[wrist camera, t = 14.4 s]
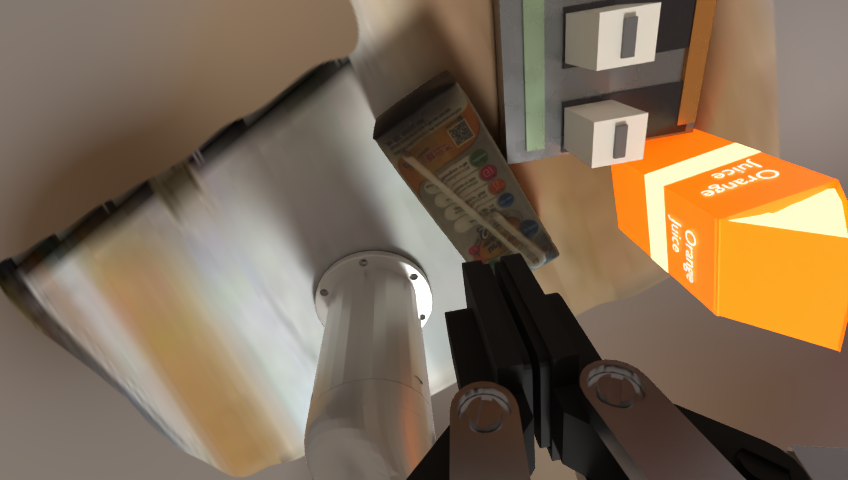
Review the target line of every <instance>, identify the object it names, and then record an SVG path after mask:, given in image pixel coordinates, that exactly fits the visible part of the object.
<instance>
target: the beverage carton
mask: <svg viewBox="0 0 848 480" xmlns="http://www.w3.org/2000/svg"><path fill="white" fill-rule="evenodd" d="M373 139H374V140H376V142H377V143H378V145H379V146H380V148H381V149H382V151H383V152H384V154H385V155H386V157H387V158H388V159H389V161H390V162H391V164H392V165H393V166H394V168H395V169H396V170H397V172H398V173H399V175H400V176H401V177H402V179H403V180H404V181H405V182H406V184H407V185H408V186H409V188H410V189H411V190H412V192H413V193H414V194H415V196H416V197H417V198H418V200H419V201H420V203H421V204H422V205H423V206H424V208H425V209H426V210H427V212H428V213H429V214H430V215H431V217H432V218H433V219H434V221H435V222H436V223H437V225H438V226H439V227H440V228H441V230H442V231H443V232H444V234H445V235H446V236H447V237H448V239H449V240H450V241H451V242H452V244H453V245H454V246H455V248H456V249H457V250H458V252H459V253H460V254H461V255H462V257H463V258H464V259H465V260H466V262H471V261H477V260H481V261H482V263H483V264H488V263H489V264H490V266H491V268H492V271H493V273H494V275H495V271H494V263H495V262H500V257H501V256H505V255H511V254H516V253H521V255H522V256H523V258H524V260H525V261H526V263H527V265H528V267H529V268H530V270H531V272H532V271H534V270H535V269H537V268H539V267H541V266H543V265H545V264H547V263H549V262H550V261H552V260H554V259H555V258H557V257H558V256H559V252H558V250H557V248H556V246H555V245H554V243H553V242H552V240H551V237H550V236H549V234H548V233H547V231H546V229H545V228H544V226H543V224H542V222H541V221H540V219H539V218H538V216H537V214H536V213H535V211H534V209H533V207H532V206H531V204H530V202H529V200H528V198H527V197H526V195H525V193H524V191H523V190H522V188H521V186H520V184H519V182H518V181H517V179H516V177H515V176H514V174H513V172H512V170H511V169H510V167H509V165H508V164H507V162H506V160H505V159H504V157H503V155H502V153H501V152H500V150H499V148H498V147H497V145H496V143H495V142H494V140H493V138H492V136H491V135H490V133H489V131H488V130H487V128H486V126H485V124H484V123H483V121H482V119H481V118H480V116H479V114H478V112H477V111H476V109H475V108H474V106H473V104H472V103H471V101H470V99H469V97H468V96H467V95H466V93H465V92H464V90H463V89H462V88H461V86H460V85H459V84H458V83H457V81H456V79H455V78H454V77H453V76H452V75H451V74H450V73H449V72H448V71H447V70H446V71H444V72H442V73H441V74H439V75H438V76H436V77H434V78H433V79H431V80H430V81H428V82H427V83H425V84H424V85H422V86H421V87H419V88H418V89H416V90H415V91H414V92H412V93H411V94H409V95H408V96H406V97H405V98H403V99H402V100H401V101H399V102H398V103H396V104H395V105H394V106H392V107H391V108H390V109H388V110H387V111H386V112H384V113H383V114H382V115H380V116H379V117H378V118H377V119H376V123H375V127H374V133H373Z"/></svg>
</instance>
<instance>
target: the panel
mask: <svg viewBox="0 0 848 480" xmlns="http://www.w3.org/2000/svg"><path fill="white" fill-rule="evenodd" d="M655 2H661V9H660V17H659V26H658V34H657V42H656V51H655V59H654V61H652V62H646V63H640V64H634V65H628V66H623V67H617V68H611V69H605V70H600V71H594V70H590V69H586V68H582V67H578V66H574V65H570V64H566V63H565V35H566V13H572V12H578V11H584V10H589V9H595V8H601V7H607V6H613V5H620V4H637V3H655ZM716 2H717V0H493V11H494V29H495V46H496V64H497V81H498V99H499V117H500V134H501V152H502V155H503V157H504V159H505V160H506V162H507V164H508V165H509V164H514V163H520V162H526V161H532V160H537V159H543V158H549V157H555V156H560V155H566V154H571V153H570V152H569V151H567V150H566V149H564V108H565V107H571V106H577V105H583V104H588V103H594V102H600V101H606V100H614V101H617V102H619V103H622V104H625V105H628V106H631V107H633V108H636V109H639V110H642V111H645V112H647V113H648V122H647V130H646V138H645V141H646V140H652V139H658V138H663V137H669V136H675V135H681V134H686V133H692V132H693V130H694V124H695V120H696V115H697V109H698V104H699V98H700V92H701V87H702V81H703V75H704V70H705V64H706V59H707V53H708V47H709V42H710V36H711V31H712V25H713V19H714V14H715V8H716Z"/></svg>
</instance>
